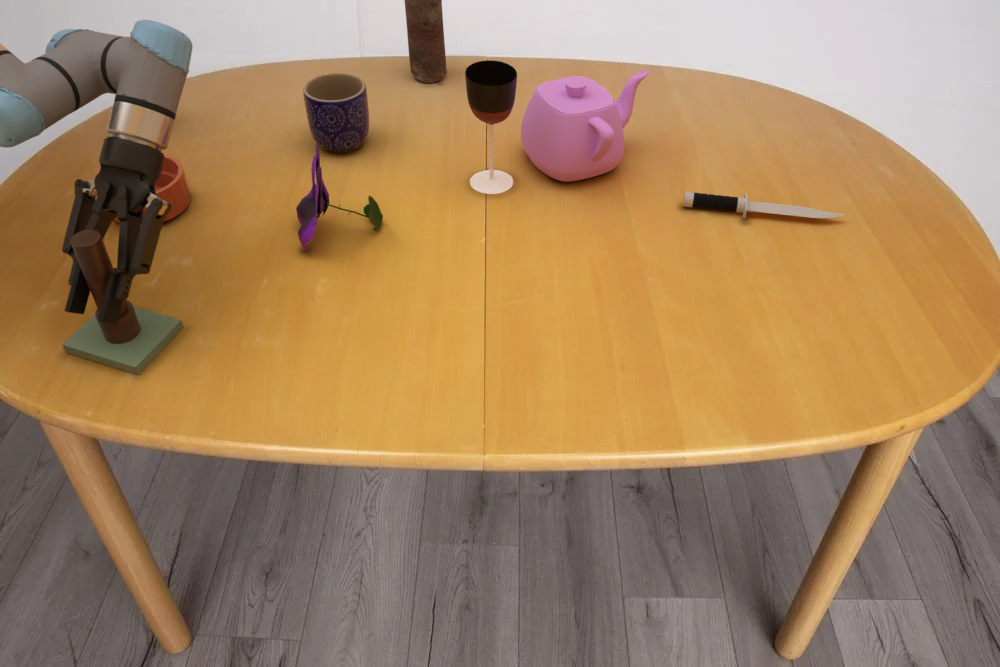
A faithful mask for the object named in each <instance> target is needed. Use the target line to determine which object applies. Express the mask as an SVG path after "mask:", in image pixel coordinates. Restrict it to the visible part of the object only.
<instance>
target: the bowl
mask: <svg viewBox="0 0 1000 667" xmlns="http://www.w3.org/2000/svg"><path fill="white" fill-rule="evenodd" d="M164 156H165V159H164V163H163V167H162V171H161V175H160V178H159V179H158V180H156V182H155V190H156V195H157V196H158V197H159V198H161V199H162V200H164V201H167V202H169V203H171V209H170V211H169V213H168V214H167V216H166V217H165V219H164V221H163V223H164V222H167V221H170V220H172V219H173V218H175V217H177V216H178V215H180V214H181V213H182V212H184V211H185V210H186V209H187V208H188V206H189V205H190V202H191V192H190V187H189V185H188V180H187V177H186V173H185V170H184V166H183V165H182V163H181V162H180V160H178V159H177V158H175V157H173V156H171V155H167V154H164ZM146 210H147V208H146V206H145V207H144V209H143V217H144V214H145V212H146ZM112 221H115V222H116V223H117V224H120V221H119V220H118V215H117V217H116V218H115V219H113V220H112ZM140 227H141V224H140Z"/></svg>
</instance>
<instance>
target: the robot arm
mask: <svg viewBox="0 0 1000 667" xmlns="http://www.w3.org/2000/svg"><path fill="white" fill-rule="evenodd" d="M129 35H130V36H123V35H118V34H117V35H116V34H112V33H106V32H102V31H101V32H100V31H94V30H90V29H87V28H85V29H83V28H77V29H75V28H65V29H61V30H59V31H57V32H56V33H54V34H53V35H52V36H51V39H50V41H49V42H48V43H47V44H46V47H45V51H44V52H45V53H43V54H41V55H40V56H37V57H35V58H33V59H31V60H30V61H28V62H26V63H25V62H23V60H21V59H20V58H19V57H17V56H16V54H14V53H13V52H11V50H9V48H7V47H6V46H4V45H3V44H2V43H1V42H0V148H14V147H16V146H18V145H21V144H22V143H25V142H26V141H29V140H31V139H33V138H36V137H38V136H40V135H41V134H42V133H43V132H44V131H46V130H47V129H48V128H50V127H52V126H53V125H55V124H56V123H58V122H59V121H62V119H64V118H66V117H67V116H68V115H71V114H73V113H74V112H76V111H78V110H79V109H81V108H83V107H84V106H86V105H89V103H91V102H93V101H94V100H96V99H98V98H99V97H101V96H103V95H104V94H110V95H111V94H112V95H115V96H114V100H113V101H114V102H113V104H112V107H111V108H112V109H111V111H110V114H109V115H110V116H109V119H108V123H107V125H106V129H105V130H106V132H107V133H108V134H110V136H106V137H105V138H104V139H103V142H102V146H101V150H100V154H99V156H98V162H99V166H100V169H99V171H98V173H97V174H96V175H95V177H94V179H89V180H83V179H80V178H78V179H76V180H75V181H74V199H73V203H72V207H71V211H70V215H69V219H68V223H67V227H66V231H65V235H64V238H63V243H62V247H61V251H62V253H63V254H66V255H68V256H69V257H70V258H71V259H72V265H71V269H70V273H69V276H68V280H67V281H68V282H67V284H68V286H70V288H69V293H68V296H67V298H66V299H67V300H66V303H65V307H64V312H66V313H70V314H78V315H85V312H86V308H87V304H88V300H89V297H90V294H91V292H90V289H89V287H88V284H87V282H86V279H85V277H84V275H83V272H82V270H81V267H80V265H79V263H78V260H77V258H76V255H75V253H74V250H73V248H72V246H71V243H70V239H71V237H72V236H73V235H75V234H76V233H78V232H80V231H83V230H96V231H98V232H99V233H100V235H101V237H102V240H103V241H104V238H105V236H106V234H107V232H108V230H109V227H110V226H111V224H112V222H113V221H114V220H113V219H115V218H116V217H117V215H118V220H119V221H120V223H119V226H118V227H119V228H118V246H117V263H116V267H113V271H114V272H110V275H109V279H108V283H107V286H106V290H105V294H104V298H103V302H102V305H101V309H100V313H99V317H98V321H99V322H104V323H112V324H117V320H118V316H119V313H120V309H121V305H122V301H123V300H128V298H129V296H130V291H131V289H132V284H133V280H134V278H135V277H136V276H138V275H148V274H149V273H150V272H151V269H152V265H153V261H154V257H155V254H156V250H157V247H158V244H159V239H160V235H161V232H162V229H163V224H164V222H165V221H164V219H165V217H166V216H167V214H168V213H169V211H170V209H171V203H169V202H167V201H164V200H162V199H161V198H159V197H158V196H157V195H156V190H155V182H156V180H158V179H159V178H160V175H161V171H162V167H163V163H164V159H165V156H164V155H165V154H164V153H163V152H162V150H163V151H165V150H167V149H168V146H169V143H170V138H171V135H172V131H173V128H174V123H175V120H176V116H177V111H178V108H179V104H180V100H181V96H182V93H183V90H184V86H185V84H186V80H187V77H188V74H189V72H190V63H191V58H192V52H193V42H192V40H191V38H190V37H189V36H188V35H187V34H186V33H184V32H182V31H180V30H179V29H177V28H175V27H173V26H170V25H167V24H165V23H162V22H159V21H156V20H150V19H139V20H137V21H136V22H135V23H134V25H133V27H132V30H131V31H130V33H129ZM145 206H146V208H147V210H146V212H145V214H144V217H143V209H144V207H145ZM163 221H164V222H163ZM140 224H141V226H140Z"/></svg>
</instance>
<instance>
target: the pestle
mask: <svg viewBox="0 0 1000 667" xmlns="http://www.w3.org/2000/svg"><path fill="white" fill-rule="evenodd" d="M70 243H71V246H72V248H73V250H74V253H75V255H76V258H77V260H78V263H79V265H80V267H81V270H82V272H83V275H84V277H85V279H86V282H87V284H88V287H89V289H90V294H91V296H92V299H93V301H94V303H95V306H96V309H95V313H94V315H95V316H96V319H97V321H98V317H99V313H100V309H101V305H102V302H103V298H104V294H105V290H106V286H107V283H108V279H109V275H110V272H114V271H113V268H114V267H113V263H112V261H111V258H110V256H109V253H108V251H107V248H106V246H105V242H104V239H103V240H102V237H101V235H100V233H99V232H98V231H96V230H83V231H80V232H78V233H76V234H75V235H73V236H72V237H71V239H70ZM133 306H134V305H133V303H132V302H131V301H130V300H128V299H126V300H123V301H122V305H121V309H120V313H119V316H118V320H117V324H112V323H104V322H99V321H98V323H99V326H100V328H101V331H102V333H103V335H104V338H105V339H106V340H107V341H108V342H110V343H113V344H121V343H126V342H128V341H131V340H132V339H134V338H135V337H136V336H137V335H138V334H139V333H140V330H141V326H140V324H139V321H138V318H137V316H136V313H135V310H134V308H133Z"/></svg>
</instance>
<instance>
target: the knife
mask: <svg viewBox="0 0 1000 667" xmlns="http://www.w3.org/2000/svg"><path fill="white" fill-rule="evenodd" d="M682 207H684V208H685V207H686V208H693V209H704V210H712V211H722V212H730V213H731V212H732V213H739V214H742V219H744V220H745V219H746V216H747V213H764V214H772V215H773V214H774V215H781V216H789V217H790V216H791V217H800V218H801V217H802V218H808V219H809V218H811V219H833V218H839V217H844V216H846V214H845V213H838V212H833V211H832V212H831V211H825V210H820V209H815V208H811V207H806V206H801V205H795V204H794V205H793V204H785V203H775V202H764V201H756V200H755V201H754V200H748V193H747V192H744V194H743V197H739V196H729V195H721V194H713V193H712V194H711V193H702V192H694V191H693V192H692V191H685V192H684V196H683V204H682Z"/></svg>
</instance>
